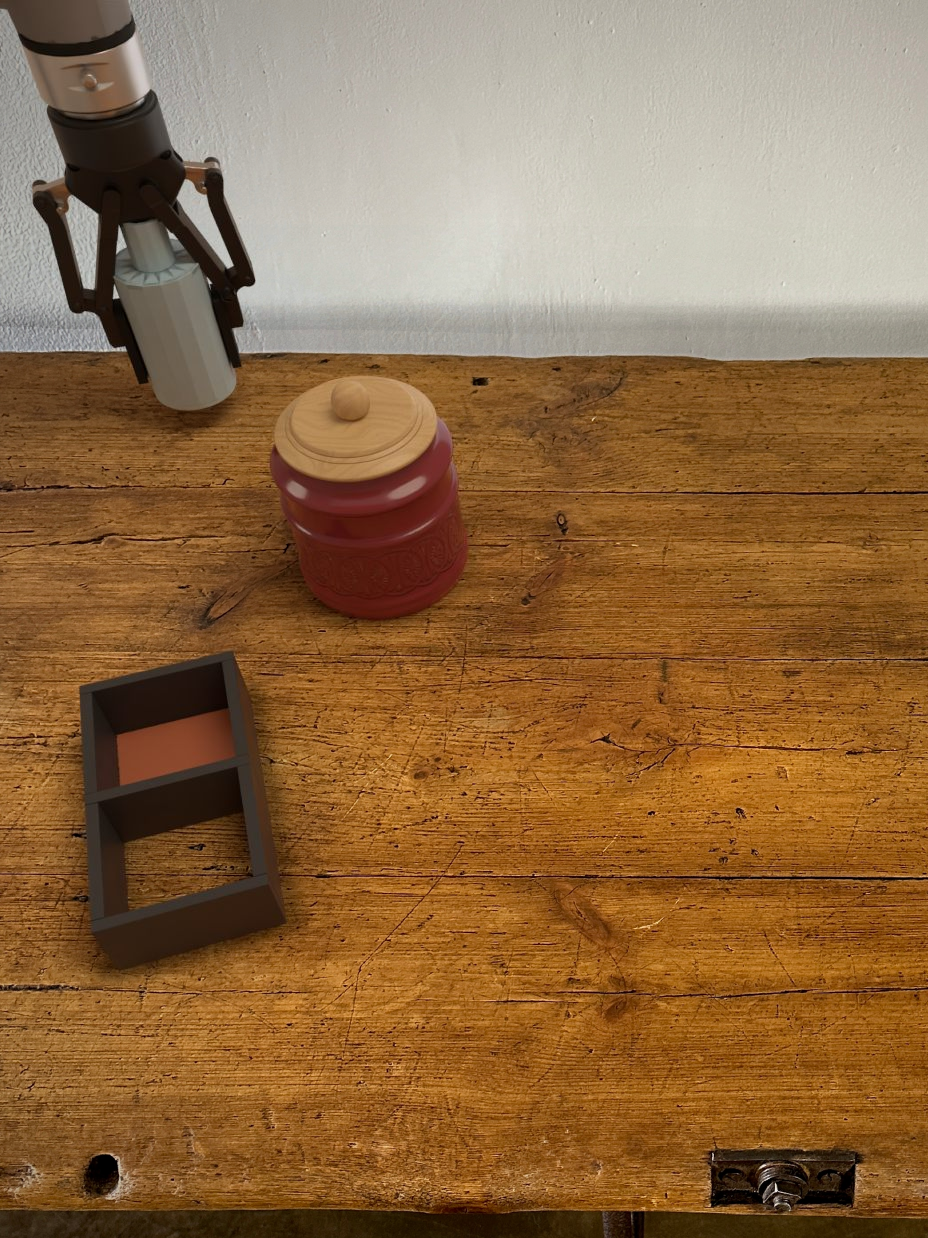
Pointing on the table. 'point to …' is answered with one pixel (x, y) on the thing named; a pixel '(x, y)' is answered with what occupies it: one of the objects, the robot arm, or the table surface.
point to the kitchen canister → (370, 496)
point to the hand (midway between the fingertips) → (189, 366)
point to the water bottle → (172, 318)
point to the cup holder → (173, 802)
